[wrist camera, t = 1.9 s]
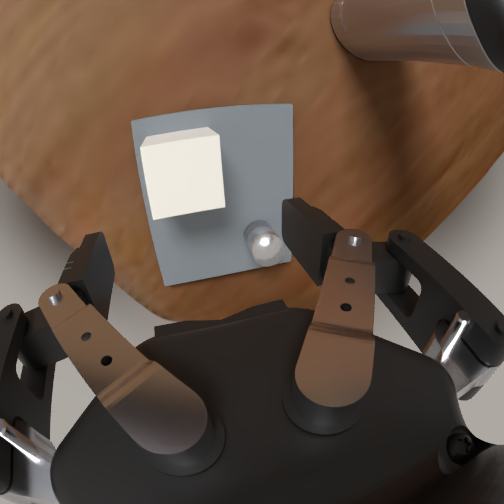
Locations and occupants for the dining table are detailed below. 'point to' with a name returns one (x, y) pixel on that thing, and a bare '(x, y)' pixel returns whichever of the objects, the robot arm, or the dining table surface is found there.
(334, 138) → the dining table surface
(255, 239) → the stub
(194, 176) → the cream rounded cube
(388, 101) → the dining table surface
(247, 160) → the base plate
